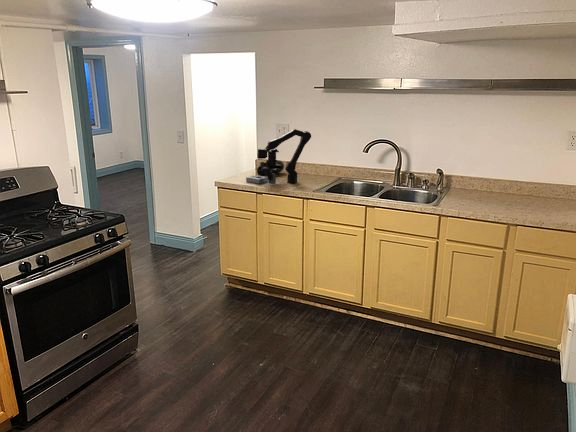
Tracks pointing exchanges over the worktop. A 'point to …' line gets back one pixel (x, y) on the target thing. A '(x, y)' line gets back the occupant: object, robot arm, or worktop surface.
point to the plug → (273, 179)
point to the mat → (270, 183)
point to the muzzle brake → (265, 172)
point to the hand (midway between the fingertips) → (272, 180)
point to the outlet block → (257, 179)
